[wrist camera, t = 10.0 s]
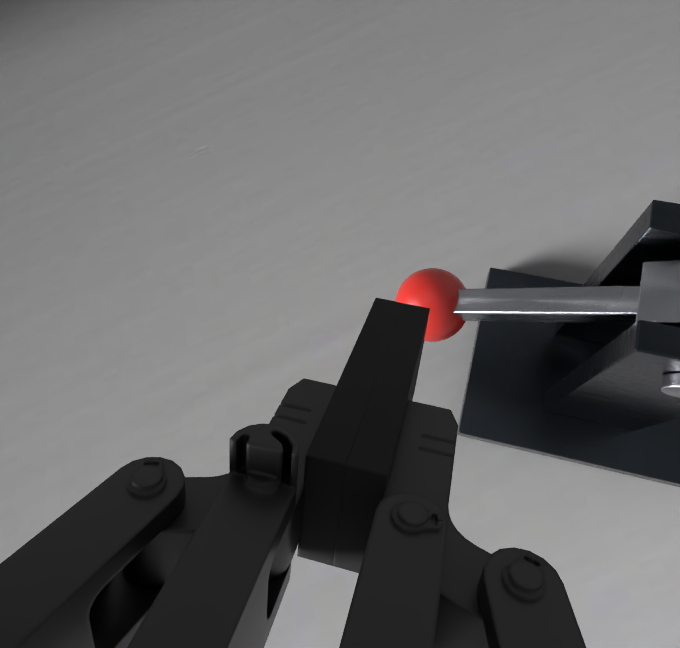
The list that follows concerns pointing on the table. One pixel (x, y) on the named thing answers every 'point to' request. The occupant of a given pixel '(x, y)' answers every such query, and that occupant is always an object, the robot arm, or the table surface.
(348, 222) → the table surface
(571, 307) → the lever
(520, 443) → the bracket
